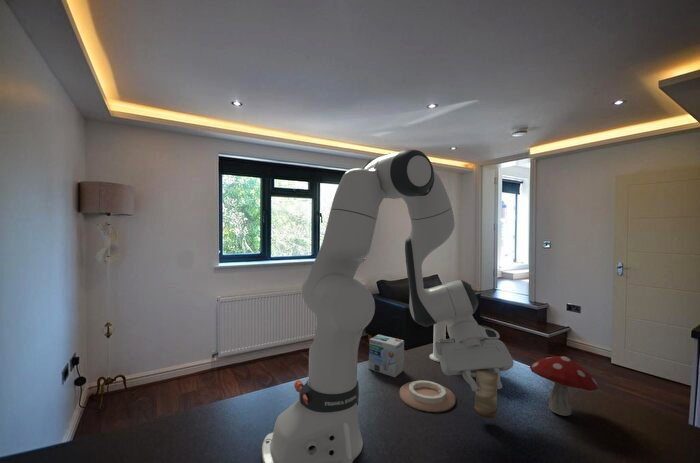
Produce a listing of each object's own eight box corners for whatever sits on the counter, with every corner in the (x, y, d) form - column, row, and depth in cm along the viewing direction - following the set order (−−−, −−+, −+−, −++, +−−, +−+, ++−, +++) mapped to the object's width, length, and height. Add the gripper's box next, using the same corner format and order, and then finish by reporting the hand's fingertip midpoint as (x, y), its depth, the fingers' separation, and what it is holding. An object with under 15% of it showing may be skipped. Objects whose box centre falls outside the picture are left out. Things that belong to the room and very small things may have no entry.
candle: (449, 363, 119) (451, 296, 118) (429, 361, 120) (431, 295, 120) (447, 355, 126) (449, 292, 125) (429, 354, 127) (430, 291, 127)
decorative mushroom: (520, 393, 98) (522, 344, 98) (578, 399, 95) (580, 349, 95) (542, 424, 82) (543, 366, 82) (612, 433, 79) (614, 373, 79)
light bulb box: (367, 369, 112) (368, 338, 112) (377, 362, 118) (378, 333, 118) (395, 377, 106) (396, 345, 106) (404, 370, 112) (404, 340, 112)
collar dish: (419, 417, 84) (419, 408, 84) (389, 388, 99) (390, 380, 99) (467, 405, 90) (467, 397, 90) (433, 380, 105) (433, 373, 105)
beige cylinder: (485, 420, 79) (486, 379, 79) (470, 408, 84) (471, 370, 84) (501, 416, 81) (502, 376, 81) (485, 405, 86) (486, 368, 85)
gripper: (437, 334, 86) (456, 388, 77) (502, 331, 91) (528, 381, 82) (429, 345, 91) (446, 397, 81) (491, 341, 96) (514, 390, 86)
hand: (488, 389), depth 82 cm, fingers closed on beige cylinder, 5 cm apart
